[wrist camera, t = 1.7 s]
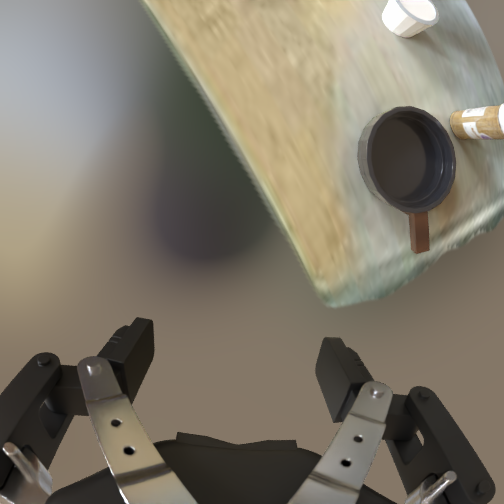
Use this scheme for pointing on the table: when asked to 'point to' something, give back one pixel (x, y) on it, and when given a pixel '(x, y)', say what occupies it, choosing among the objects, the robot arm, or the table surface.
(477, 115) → the sprinkles bottle
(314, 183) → the table surface
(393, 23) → the white cup
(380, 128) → the pan
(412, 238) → the pan handle
